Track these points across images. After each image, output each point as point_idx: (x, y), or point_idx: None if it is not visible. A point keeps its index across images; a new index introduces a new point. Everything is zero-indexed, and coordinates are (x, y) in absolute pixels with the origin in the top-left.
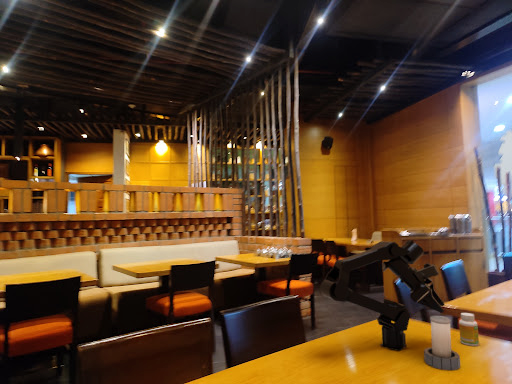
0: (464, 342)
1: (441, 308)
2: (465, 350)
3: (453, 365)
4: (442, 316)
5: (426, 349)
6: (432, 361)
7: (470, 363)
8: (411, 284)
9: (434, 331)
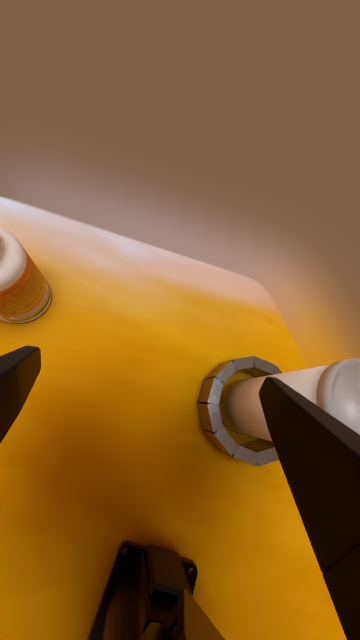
0: (38, 313)
1: (294, 393)
2: (104, 325)
3: None
4: (332, 395)
5: (247, 457)
6: None
7: (207, 332)
8: None
9: None
